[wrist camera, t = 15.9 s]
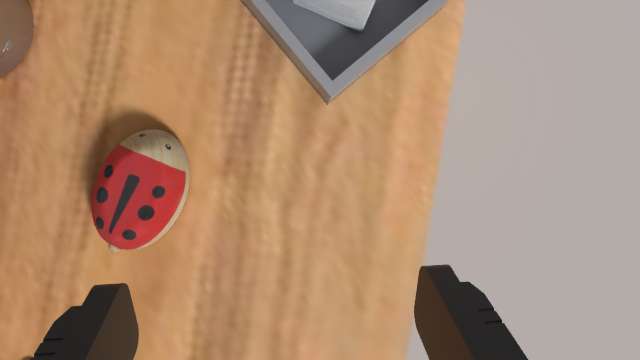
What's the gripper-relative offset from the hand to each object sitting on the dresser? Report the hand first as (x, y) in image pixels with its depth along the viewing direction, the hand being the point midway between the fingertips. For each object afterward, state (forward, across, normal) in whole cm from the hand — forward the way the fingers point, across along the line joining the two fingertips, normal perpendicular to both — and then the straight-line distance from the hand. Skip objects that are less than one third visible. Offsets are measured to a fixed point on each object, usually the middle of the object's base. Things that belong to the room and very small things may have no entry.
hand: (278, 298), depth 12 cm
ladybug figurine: (+22, +10, +7) cm, 25 cm away
